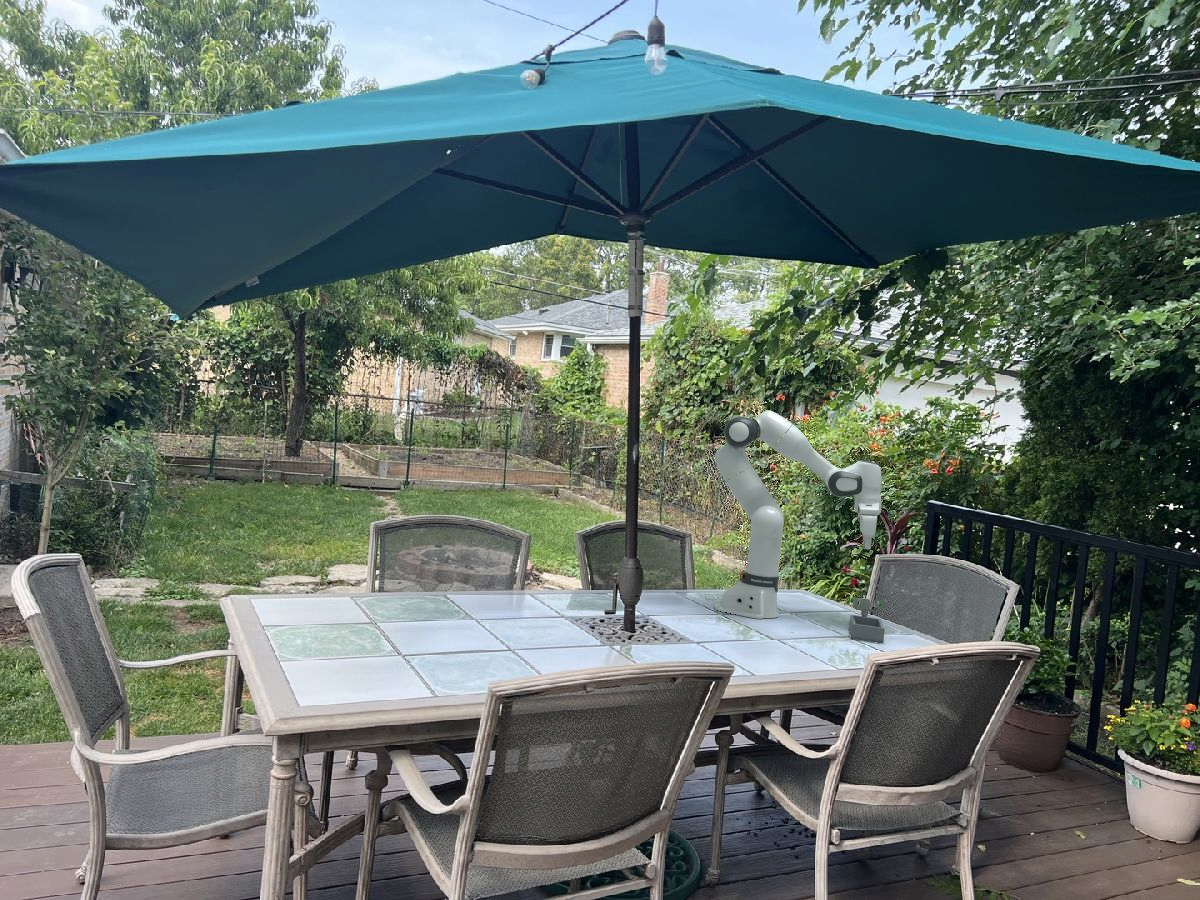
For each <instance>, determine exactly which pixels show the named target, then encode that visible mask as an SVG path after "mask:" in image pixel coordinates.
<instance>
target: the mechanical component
mask: <svg viewBox="0 0 1200 900" xmlns="http://www.w3.org/2000/svg"><path fill="white" fill-rule="evenodd" d="M849 602H850V603H852V607H853V609H854V610H857V611H860V616H863V617H869V612H871V613H876V612H877V613H878V612H879V609H880V607H882V601H879V600H876V602H875V603H874V604H872V602H871V599H869V598H862V597H856V596H855V597H854V596H853V597H850V599H849ZM858 602H859V603H860V604H858ZM871 607H872V608H875V609H872V608H871Z"/></svg>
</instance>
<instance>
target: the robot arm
mask: <svg viewBox="0 0 1200 900" xmlns="http://www.w3.org/2000/svg"><path fill="white" fill-rule="evenodd" d="M723 435H724V438H725V444H723V446H721V447H720V448H719V449H718V450H717V451H716V453H715V454H714V460H715V464H716V466H717V469H718V471H719V473H720V475H721V476H722V478H723V480H724V482H725V483H726V485H727V486H728V489H729V490H730V492H731V493H732V495H733V496H734V497H735V499H736V501H737V502H738V503H739V505H740V506H741V507H742V509H743V510H744V513H746V515H747V516H748V518H749V519H750V521H751V522H750V523H751V524H750V534H749V542H748V543H749V545H748V547H749V548H748V557H747V563H746V565H747V566H746V571H745V570H741V572H740V573H739V576H740V577H739V582H737V583H736V584H734V585H732V586H730V587H729V588H728V589H726V590H725V591H724V593H723V594H722V598H721V601H718V602H717V603H715V604H714V609H715V610H716V611H717V610H718V611H717V612H720V611H721V612H720V613H725V612H727V613H726V614H730V613H731V615H735V614H736V616H740V617H741V616H742V617H745V618H746V617H747V618H751V619H757V620H760V619H774V618H778V617H779V610H778V596H777V595H778V591H779V585H780V576H779V570H780V563H781V562H780V561H781V552H782V550H781V549H782V543H783V542H782V541H783V535H784V533H783V531H784V525H785V524H784V523H785V517H784V512H783V510H782V509H781V507H780V506H779V505H778V502H776V500H775V498H774V497H773V496H772V494H771V493H770V491H769V490H768V488H767V487H766V485H765V484H764V482H763V481H762V479H761V478H760V476H759V474H758V473H757V471H756V469H755V468H754V466H753V465H752V463H751V462H750V460H749V459H748V457H747V454H746V449H747V448H748V447H749V446H750V445H751V444H752V443H753V442H755V441H757V440H758V441H762V442H763V443H765V444H766V445H768V446H769V447H771V449H773V450H774V451H775V452H777V453H778V454H780V455H782V456H783V457H785V458H787V459H789V460H791V461H795V462H798V463H800V464H801V465H804V466H806V468H808V469H809V470H811V471H812V472H813V473H814V474H815V475H817V476H818V477H819V478H820V479H821V480H822V481H823V482H824V485H825V487H826V488H827V490H828V491H829V493H831V495H833V496H835V497H838V498H847V497H851V496H854V504H853V505H854V513H857V517H858V518H860V519H859V520H860V521H859V528H860V532H861V534H862V541H863V542H862V544H863V546H864V548H865V550H871V548H872V540H873V539H872V538H875V537H876V536H875V535H876V531H877V522H878V516H879V515H880V514H881V513H882V496H881V490H882V484H883V483H882V482H883V481H882V480H883V479H882V478H883V477H882V470H881V466H880V465H879V464H878V463H876V462H872V461H870V460H863V459H860V460H858V461H856V462H855V463H853V464H851V465H849V466H847V467H844V468H842V467H838V466H835V465H834V464H832V463H831V462H829V460H827V459H826V458H825V457H824V456H822V455H821V454H820V453H818V452H817V451H816V450H815V449H814V448H813V446H812V445H811V443H810V442H809V440H808V438H807V436H806V435H805V434H804V433H803V432H802V431H801V430H800V429H799V428H798V427H797V426H796V425H795V424H793V423H792V422H791V421H790V420H787V418H785V417H784V416H782V415H780V414H779V413H776V412H774V411H772V410H765V411H763V412H761V413H760V414H759V415H757V417H755V418H751V417H745V416H735V417H732V418H731V419H729V420H728V421H727V423H725V425H724V430H723Z"/></svg>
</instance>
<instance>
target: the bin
mask: <svg viewBox="0 0 1200 900" xmlns="http://www.w3.org/2000/svg"><path fill="white" fill-rule="evenodd" d="M848 626H849V627H848V632H849V631H850V632H849V635H851V636H850V640H853V639H857V640H856V641H860V640H864V641H863V642H866V641H870V642H869V643H873V642H877V643H876V644H880V643H883V644H884V640H885V639H884V638H885V630H886V628H885V626H884V624H883V621H882V618H876V617H869V616H867V617H863V616H862V615H856V614H850V615H849V624H848Z"/></svg>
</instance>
